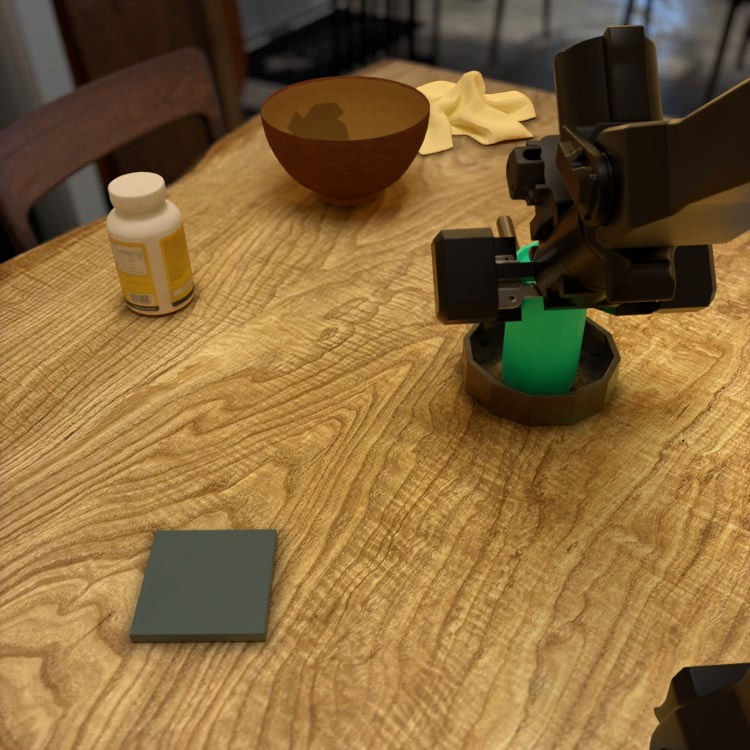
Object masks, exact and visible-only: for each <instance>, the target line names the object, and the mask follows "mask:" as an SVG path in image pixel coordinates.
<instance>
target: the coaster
mask: <svg viewBox="0 0 750 750" xmlns="http://www.w3.org/2000/svg"><path fill="white" fill-rule="evenodd" d="M277 544H278V531H277V529H276V528H265V529H263V528H260V529H259V528H257V529H256V528H253V529H252V528H251V529H250V528H249V529H170V530H169V529H168V530H167V529H165V530H163V529H162V530H160V529H159V530H155V532H154V536H153V541H152V545H151V548H150V552H149V556H148V559H147V563H146V567H145V571H144V575H143V578H142V583H141V588H140V591H139V595H138V598H137V603H136V606H135V610H134V613H133V618H132V622H131V626H130V629H129V632H128V633H129V639H130V641H131V643H179V642H181V643H184V642H185V643H187V642H191V643H192V642H193V643H194V642H195V643H196V642H265V641H266V640H267V634H268V633H267V632H268V625H269V624H268V623H269V615H270V608H271V607H270V606H271V597H272V588H273V581H274V570H275V562H276V554H277V553H276V552H277V546H278V545H277Z"/></svg>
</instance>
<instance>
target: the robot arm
mask: <svg viewBox="0 0 750 750" xmlns="http://www.w3.org/2000/svg"><path fill="white" fill-rule="evenodd" d="M552 65H553V67H552V68H553V79H554V92H555V102H556V115H557V127H558V134H549V135H545V136H543V137H541V138H540V139H537V140H534V139H533V140H527V141H526V143H525V146H524V145H521V146H515V147H513V149H512V150H511V151H510V153H509V154H508V157H507V161H506V164H505V177H506V182H507V188H508V194H509V198H510V199H511V200H512V201H519V200H520V201H525V203H526V206H527V207H534V212H535V215H534V216H533V217H532V219H531V220H530V221H529V235H530V241H531V242H537V241H538V244H539V246H531V247H530V248H529V251H528V253H529V259H530V261H531V262H520V260H519V261H517V252H516V239H515V236H512V237H499V236H494V232H493V229H492V227H491V226H485V227H468V228H467V227H466V228H464V227H463V228H447V229H446V228H444V229H440V230H439V231H438V233H437V234H436V235H435V236H434V238H433V239H432V242H431V244H430V253H431V267H432V268H431V269H432V282H433V295H434V311H435V318H436V319H437V320H438V321H439V322H440V323H441V324H442V325H444V326H453V325H473V324H476V323H485V322H486V323H496V322H515V321H522V314H521V303H522V300H523V299H525V298H543V303H544V311H552V310H571V309H587V310H589V309H594V310H597V311H600V312H603V313H606V314H608V315H612V316H615V317H628V316H645V315H646V316H648V315H652V314H653V313H655V314H660V315H664V314H682V313H683V314H684V313H697V312H700V311H702V310H704V309H707V308H709V306H710V305H711V304H712V303H713V301H714V300H715V298H716V294H717V290H718V284H717V276H716V275H717V274H716V266H715V257H714V248H713V245H725V244H728V243H730V242H732V241H734V240H735V239H737V238H738V237H740V236H742V235H743V234H745V233H747V232H748V231H750V76H749V77H748V78H746V79H745V80H742V81H741V82H739V83H738V84H736V85H735V86H733V87H731V88H729V89H728V90H726V91H725V92H723V93H722V94H720V95H718V96H717V97H715V98H713V99H711V100H710V101H709V102H707V103H705V104H704V105H702V106H701V107H699V108H697V109H695V110H694V111H692V112H690V113H689V114H687V115H686V116H684V117H679V118H674V119H664V114H663V113H664V112H663V105H662V104H663V103H662V94H661V85H660V74H659V65H658V57H657V46H656V45H655V42H654V41H652V40H651V39H650V38H648V37H646V34H645V26H644V25H643V24H631V25H630V24H627V25H608V26H607V27H606V28H605V30H604V32H603V33H602V35H599V36H594V37H592V38H587V39H585V40H583V41H580V42H577V43H576V44H573V45H571V46H570V47H568V48H567V49H565V50H563V51H559V52H558V53H556V55H555V56H554V58H553V62H552ZM532 261H533V262H532ZM529 281H535V282H536V286H535V284H534V282H532V283H531V286H529V284H528V283H526V284H525V287H524V286H523V284H522V282H529ZM653 714H654V716H655V718H656V720H657V721H658V724H657V726H656V727H655V729H654V730H653V732H652V733H651V737H650V741H649V749H648V750H750V661H748V662H733V663H718V664H705V665H693V666H683V667H682V668H681V669H680V670H679V671H678V672H676V674H675V675H673V676H672V677H671V679H670V683H669V686H668V690H667V694H666V696H665V699H664V701H663V702H662V704H661V705H660V706H655V707H653Z"/></svg>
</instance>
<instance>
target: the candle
mask: <svg viewBox="0 0 750 750" xmlns="http://www.w3.org/2000/svg"><path fill="white" fill-rule="evenodd" d="M531 246H539V244H538V241H533V242H531V243H530V244H527V245H525V246H522V247H520V249H519V250H518V251H517V261H519V260H520V262H531V261H530V259H529V253H528V251H529V248H530V247H531ZM532 262H533V261H532ZM532 282H534V284H535V286H536V282H535V281H529V282H522V284H523V286H524V287H525V284H526V283H528V284H529V286H531V283H532ZM587 313H588V309H571V310H552V311H544V303H543V298H525V299H523V300H522V303H521V314H522V321H515V322H506V323H505V333H504V344H503V354H502V359H501V364H500V365H501V367H500V371H501V377H502V382H503V383H506V384H509V385H512V386H515V387H518V388H521V389H524V390H527V391H531V392H570V389H571V388H572V386H573V385H574V383H575V382H576V379H577V374H578V373H577V372H578V362H579V356H580V350H581V344H582V338H583V332H584V326H585V320H586V316H587Z"/></svg>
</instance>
